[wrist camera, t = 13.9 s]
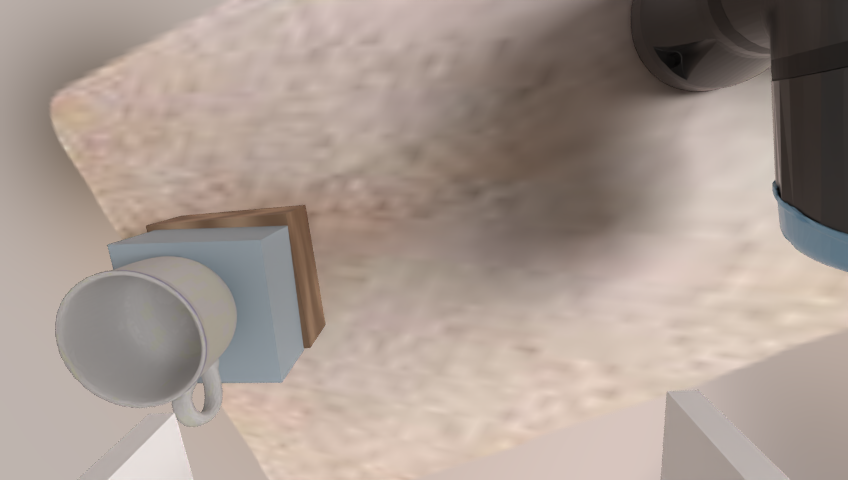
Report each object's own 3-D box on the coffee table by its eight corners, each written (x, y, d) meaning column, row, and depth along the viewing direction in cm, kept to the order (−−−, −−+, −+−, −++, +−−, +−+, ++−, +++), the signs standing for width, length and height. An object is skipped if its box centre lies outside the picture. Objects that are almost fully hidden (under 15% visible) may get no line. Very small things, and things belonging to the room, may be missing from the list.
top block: (287, 225, 39) (260, 240, 34) (303, 349, 43) (281, 382, 37) (155, 229, 40) (107, 244, 34) (182, 351, 44) (141, 383, 38)
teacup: (118, 259, 35) (25, 293, 27) (228, 230, 34) (163, 257, 26) (180, 392, 38) (112, 456, 30) (283, 370, 37) (239, 431, 29)
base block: (306, 204, 45) (285, 213, 39) (326, 323, 49) (310, 347, 43) (183, 215, 46) (145, 225, 40) (211, 330, 50) (180, 355, 44)
